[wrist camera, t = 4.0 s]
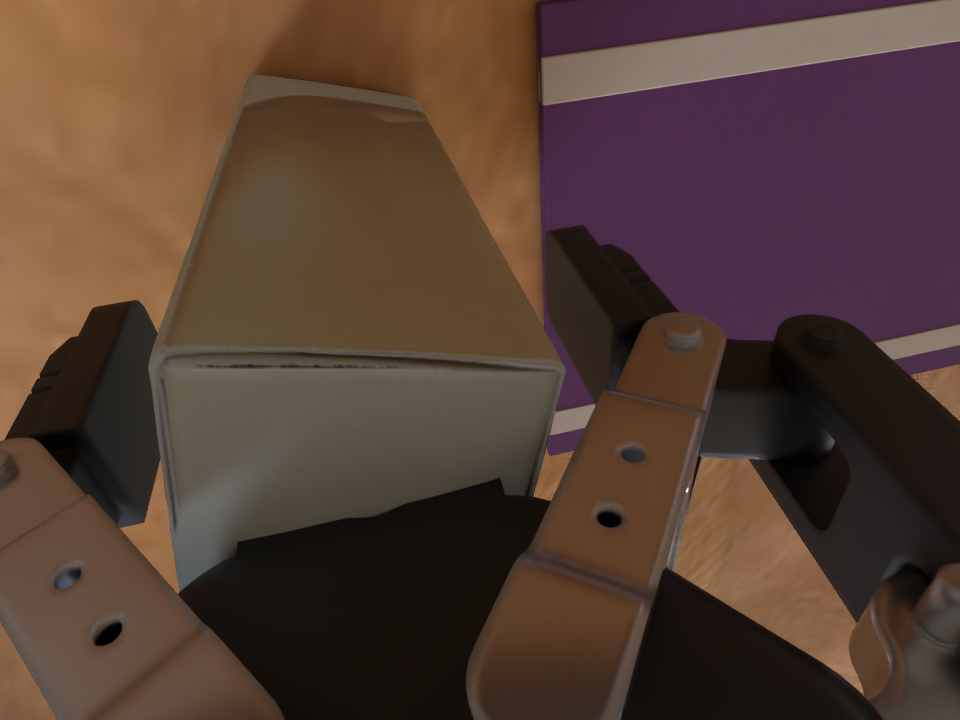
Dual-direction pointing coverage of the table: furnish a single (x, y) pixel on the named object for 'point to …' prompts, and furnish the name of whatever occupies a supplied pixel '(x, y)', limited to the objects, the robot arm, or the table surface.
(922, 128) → the cloth
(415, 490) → the cosmetic box
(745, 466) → the table surface
